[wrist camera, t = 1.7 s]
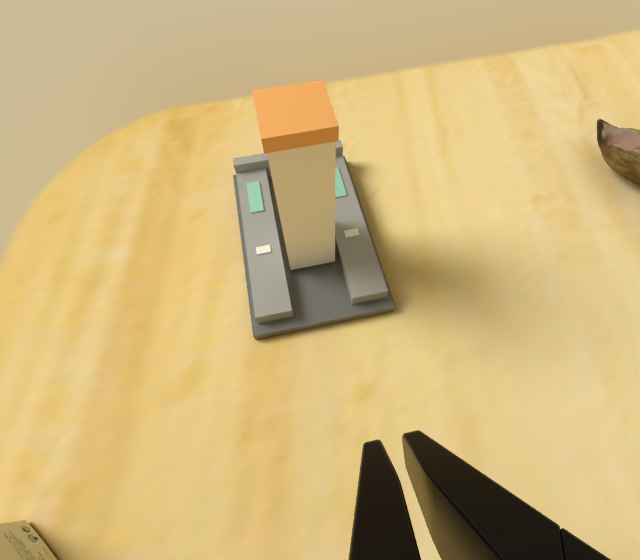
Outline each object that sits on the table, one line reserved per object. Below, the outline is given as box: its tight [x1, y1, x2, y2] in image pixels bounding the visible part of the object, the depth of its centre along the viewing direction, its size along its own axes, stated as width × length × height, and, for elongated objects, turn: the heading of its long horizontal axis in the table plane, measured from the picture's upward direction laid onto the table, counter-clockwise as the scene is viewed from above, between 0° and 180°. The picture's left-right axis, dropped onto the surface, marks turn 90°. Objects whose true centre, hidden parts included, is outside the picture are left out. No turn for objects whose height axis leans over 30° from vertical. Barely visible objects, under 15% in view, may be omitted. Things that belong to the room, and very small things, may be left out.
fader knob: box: [253, 80, 339, 270], centre depth 22 cm, size 3×3×11 cm
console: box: [233, 140, 395, 339], centre depth 27 cm, size 15×10×2 cm, turn 12°
